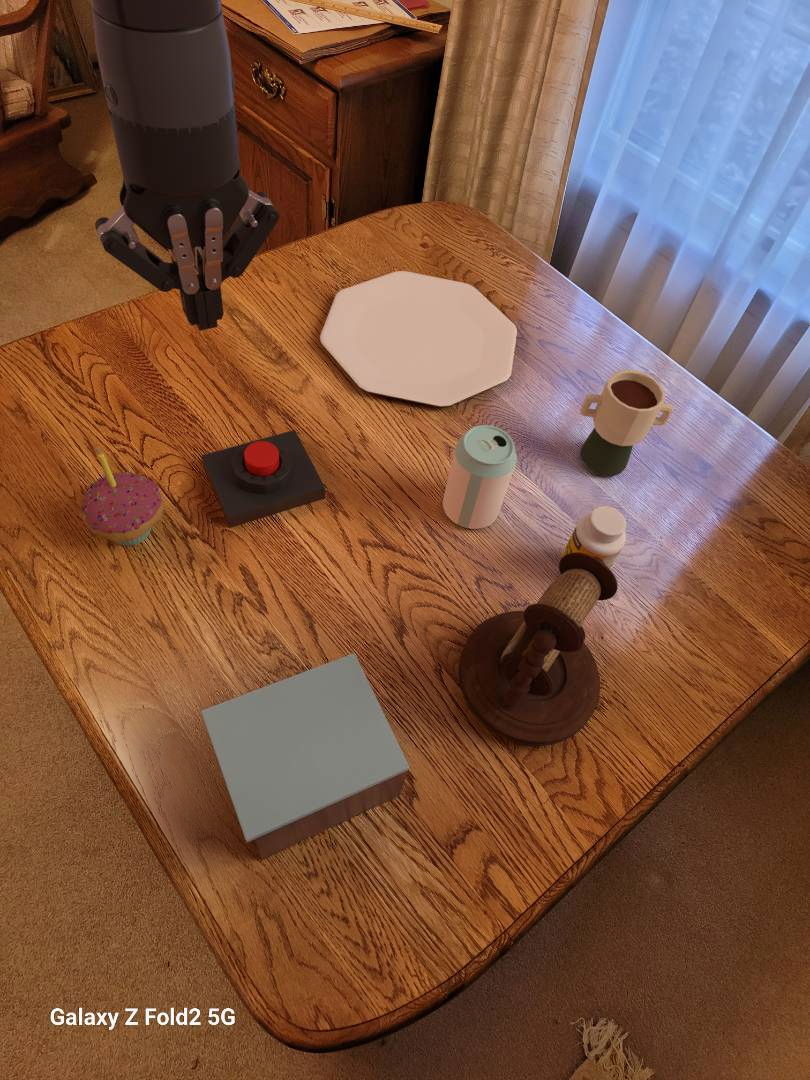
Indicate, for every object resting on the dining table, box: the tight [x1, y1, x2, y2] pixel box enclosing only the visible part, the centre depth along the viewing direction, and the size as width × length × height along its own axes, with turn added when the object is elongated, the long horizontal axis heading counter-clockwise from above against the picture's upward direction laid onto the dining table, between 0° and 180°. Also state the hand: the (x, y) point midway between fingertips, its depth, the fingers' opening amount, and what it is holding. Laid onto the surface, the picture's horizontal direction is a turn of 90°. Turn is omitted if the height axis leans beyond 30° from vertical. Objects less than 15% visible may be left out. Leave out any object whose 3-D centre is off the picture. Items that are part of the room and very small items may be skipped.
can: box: [442, 424, 518, 530], centre depth 87 cm, size 7×7×12 cm
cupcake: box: [81, 447, 165, 547], centre depth 80 cm, size 9×8×12 cm
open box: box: [254, 770, 409, 861], centre depth 68 cm, size 14×12×8 cm
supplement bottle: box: [558, 505, 627, 570], centre depth 84 cm, size 6×6×10 cm
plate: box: [319, 270, 518, 408], centre depth 108 cm, size 28×28×2 cm
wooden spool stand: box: [458, 552, 619, 747], centre depth 71 cm, size 15×15×20 cm
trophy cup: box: [579, 369, 674, 478], centre depth 93 cm, size 11×7×13 cm, turn 86°
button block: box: [200, 429, 326, 529], centre depth 89 cm, size 12×10×4 cm
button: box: [244, 441, 279, 476], centre depth 87 cm, size 4×4×2 cm
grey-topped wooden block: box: [200, 652, 410, 843], centre depth 64 cm, size 15×12×1 cm
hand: (204, 322), depth 59 cm, fingers closed
